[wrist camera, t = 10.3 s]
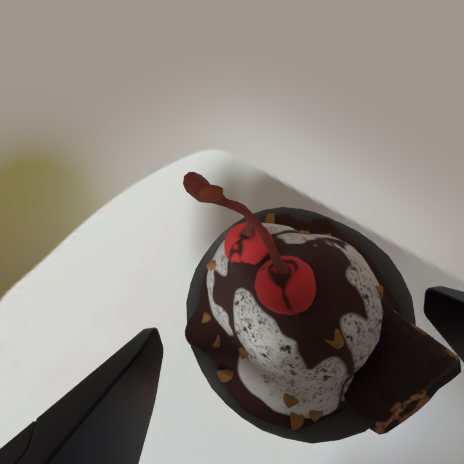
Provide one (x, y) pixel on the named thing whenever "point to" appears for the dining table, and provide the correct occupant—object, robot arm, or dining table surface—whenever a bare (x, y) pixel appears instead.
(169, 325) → the dining table surface
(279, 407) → the sundae
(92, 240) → the dining table surface
